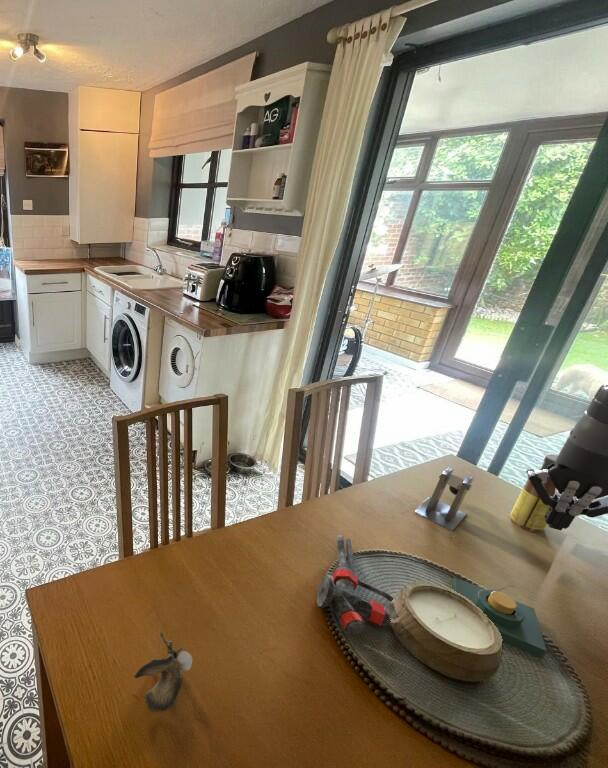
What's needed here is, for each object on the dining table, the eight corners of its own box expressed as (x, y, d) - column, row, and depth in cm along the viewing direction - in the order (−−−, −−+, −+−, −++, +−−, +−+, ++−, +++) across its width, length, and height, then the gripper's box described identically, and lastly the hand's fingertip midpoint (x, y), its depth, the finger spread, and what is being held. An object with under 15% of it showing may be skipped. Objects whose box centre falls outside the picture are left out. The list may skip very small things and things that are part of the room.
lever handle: (446, 492, 109) (453, 480, 109) (463, 499, 107) (470, 487, 106) (441, 483, 100) (449, 470, 100) (460, 491, 97) (467, 477, 97)
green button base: (528, 615, 79) (538, 601, 78) (541, 659, 72) (552, 644, 70) (450, 584, 86) (457, 571, 84) (454, 621, 78) (462, 607, 76)
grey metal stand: (428, 500, 109) (445, 460, 104) (465, 517, 104) (485, 476, 98) (412, 515, 104) (430, 474, 99) (450, 534, 98) (471, 492, 93)
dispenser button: (510, 603, 78) (514, 597, 77) (514, 618, 75) (518, 612, 74) (486, 594, 79) (489, 587, 79) (488, 608, 77) (492, 601, 76)
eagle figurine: (146, 639, 73) (122, 677, 66) (172, 623, 70) (150, 663, 62) (176, 677, 71) (155, 722, 64) (204, 663, 68) (185, 709, 60)
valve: (405, 671, 71) (314, 626, 76) (383, 567, 93) (314, 537, 98) (424, 649, 69) (328, 604, 74) (397, 547, 90) (324, 517, 95)
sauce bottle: (544, 529, 100) (586, 462, 92) (537, 539, 97) (580, 471, 89) (509, 513, 105) (545, 448, 97) (501, 523, 102) (538, 457, 94)
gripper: (552, 442, 66) (507, 523, 74) (679, 470, 59) (616, 557, 67) (540, 422, 72) (500, 500, 79) (655, 446, 65) (600, 528, 72)
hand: (553, 526), depth 73 cm, fingers closed
